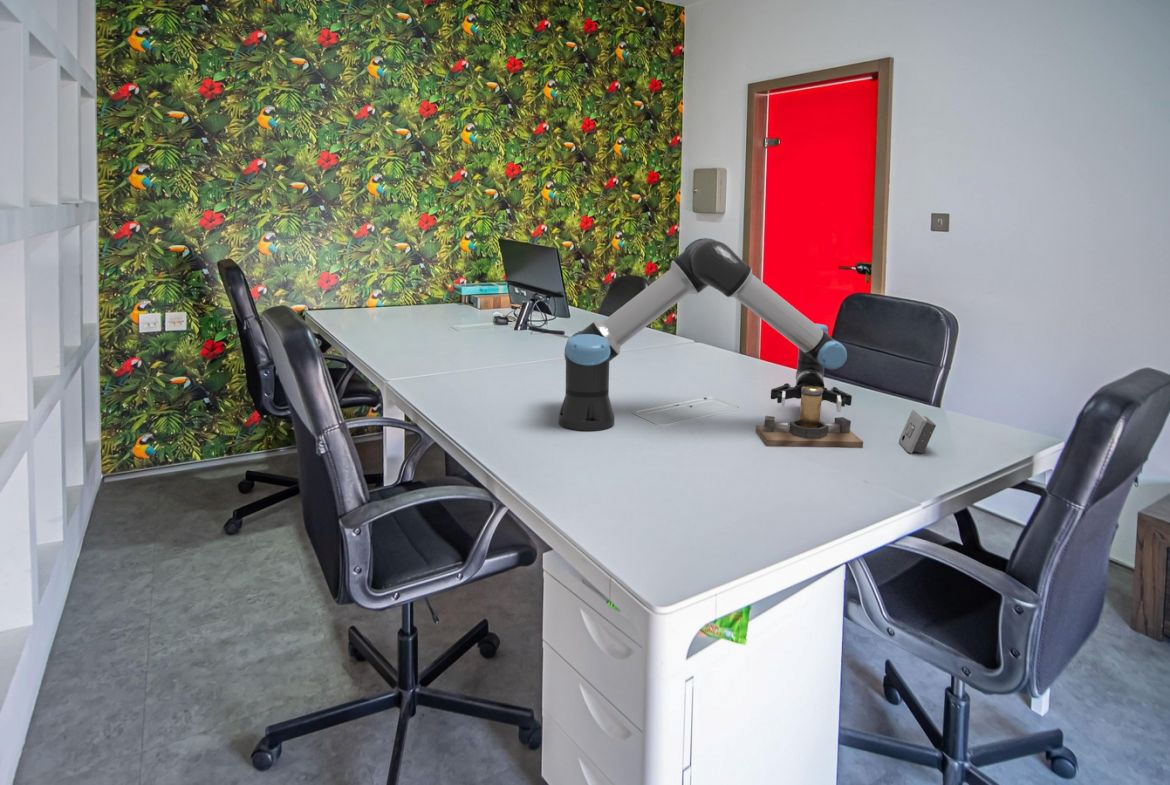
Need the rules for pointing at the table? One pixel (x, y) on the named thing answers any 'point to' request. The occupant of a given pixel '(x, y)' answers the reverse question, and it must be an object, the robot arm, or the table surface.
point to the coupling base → (808, 434)
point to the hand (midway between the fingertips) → (811, 404)
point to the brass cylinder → (810, 406)
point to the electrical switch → (916, 433)
